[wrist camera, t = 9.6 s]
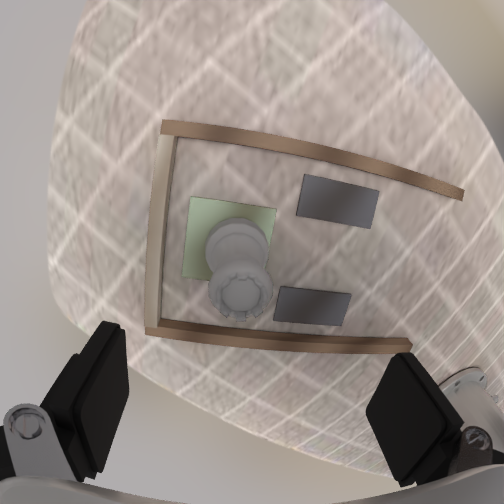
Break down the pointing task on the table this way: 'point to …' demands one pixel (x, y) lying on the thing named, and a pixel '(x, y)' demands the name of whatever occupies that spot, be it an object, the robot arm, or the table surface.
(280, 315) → the wooden u-shaped frame
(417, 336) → the table surface
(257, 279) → the rook chess piece
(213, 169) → the table surface
